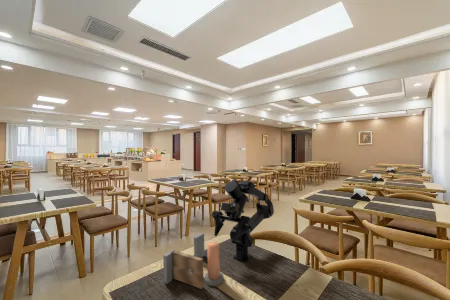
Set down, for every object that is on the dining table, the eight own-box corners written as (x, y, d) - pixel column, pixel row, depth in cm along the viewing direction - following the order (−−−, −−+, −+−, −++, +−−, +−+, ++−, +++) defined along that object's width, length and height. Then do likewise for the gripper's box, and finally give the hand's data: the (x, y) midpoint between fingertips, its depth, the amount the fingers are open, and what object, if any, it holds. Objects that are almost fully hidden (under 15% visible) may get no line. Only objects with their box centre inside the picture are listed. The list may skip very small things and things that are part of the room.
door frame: (201, 254, 101) (201, 232, 101) (204, 255, 100) (204, 233, 100) (164, 282, 80) (163, 255, 80) (166, 284, 79) (166, 256, 79)
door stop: (211, 273, 85) (210, 239, 85) (226, 278, 82) (225, 242, 82) (200, 282, 79) (200, 246, 79) (216, 288, 76) (216, 250, 76)
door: (168, 278, 82) (167, 252, 82) (172, 275, 84) (172, 249, 84) (199, 290, 74) (198, 261, 74) (203, 286, 77) (203, 258, 77)
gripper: (213, 192, 96) (197, 224, 87) (249, 197, 86) (235, 233, 77) (224, 206, 103) (209, 236, 94) (259, 211, 92) (247, 247, 83)
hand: (224, 238), depth 87 cm, fingers open, 9 cm apart
